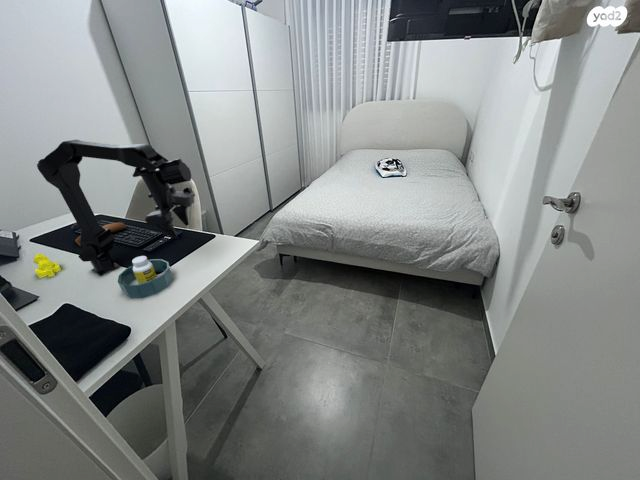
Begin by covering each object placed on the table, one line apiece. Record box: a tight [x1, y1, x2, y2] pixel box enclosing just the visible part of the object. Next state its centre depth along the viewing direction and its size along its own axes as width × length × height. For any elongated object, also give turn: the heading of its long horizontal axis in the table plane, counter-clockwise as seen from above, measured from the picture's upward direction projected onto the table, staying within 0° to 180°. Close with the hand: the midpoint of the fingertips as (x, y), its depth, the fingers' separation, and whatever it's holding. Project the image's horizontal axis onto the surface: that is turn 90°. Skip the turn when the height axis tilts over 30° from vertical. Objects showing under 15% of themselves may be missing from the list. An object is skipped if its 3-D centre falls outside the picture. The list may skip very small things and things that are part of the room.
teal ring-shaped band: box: [117, 258, 175, 299], centre depth 85 cm, size 14×14×5 cm
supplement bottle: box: [131, 255, 158, 284], centre depth 84 cm, size 5×5×10 cm
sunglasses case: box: [74, 221, 128, 247], centre depth 115 cm, size 18×7×7 cm
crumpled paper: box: [33, 252, 62, 279], centre depth 91 cm, size 6×8×8 cm
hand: (181, 231), depth 87 cm, fingers open, 9 cm apart
